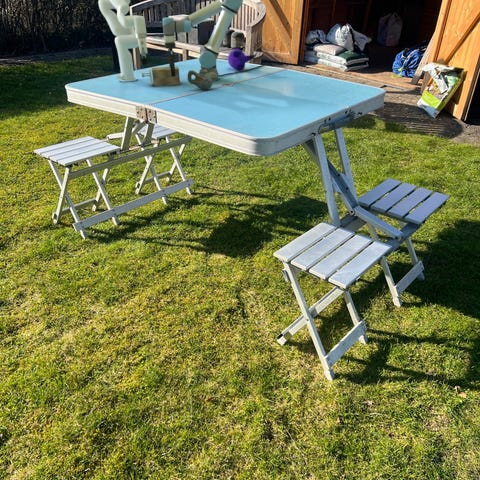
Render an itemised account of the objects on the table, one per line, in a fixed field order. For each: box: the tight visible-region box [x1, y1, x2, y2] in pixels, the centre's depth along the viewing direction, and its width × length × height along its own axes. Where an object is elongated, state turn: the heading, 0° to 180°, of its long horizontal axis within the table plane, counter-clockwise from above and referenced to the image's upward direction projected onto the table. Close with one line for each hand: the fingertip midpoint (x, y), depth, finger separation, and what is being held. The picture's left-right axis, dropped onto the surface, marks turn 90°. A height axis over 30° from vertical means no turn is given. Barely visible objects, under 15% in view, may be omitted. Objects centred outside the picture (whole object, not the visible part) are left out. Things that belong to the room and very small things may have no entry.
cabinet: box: [151, 65, 181, 88], centre depth 325 cm, size 19×11×11 cm, turn 103°
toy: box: [227, 48, 258, 72], centre depth 368 cm, size 16×18×27 cm
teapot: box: [187, 66, 218, 91], centre depth 306 cm, size 21×12×15 cm, turn 109°
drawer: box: [141, 69, 154, 86], centre depth 324 cm, size 23×10×9 cm, turn 103°
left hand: (144, 64), depth 318 cm, fingers closed
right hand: (172, 75), depth 325 cm, fingers closed on cabinet, 11 cm apart
